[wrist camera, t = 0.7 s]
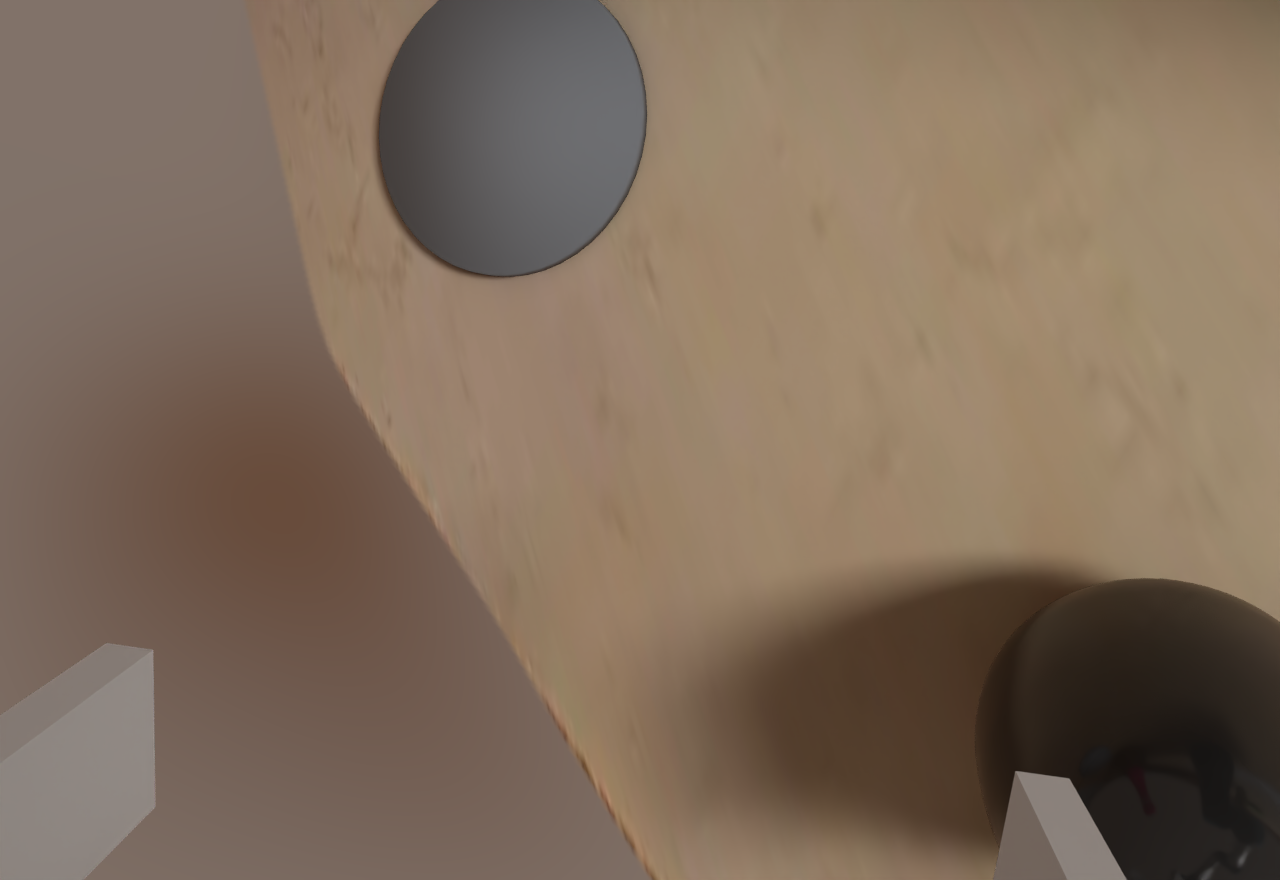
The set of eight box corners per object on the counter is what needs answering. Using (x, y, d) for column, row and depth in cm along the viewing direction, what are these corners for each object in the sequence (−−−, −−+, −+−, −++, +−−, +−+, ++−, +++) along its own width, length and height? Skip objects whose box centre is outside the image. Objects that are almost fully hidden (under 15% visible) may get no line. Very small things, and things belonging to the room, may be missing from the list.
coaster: (627, -63, 39) (621, -70, 38) (664, 249, 39) (658, 247, 39) (371, 18, 44) (362, 13, 43) (405, 297, 44) (397, 296, 43)
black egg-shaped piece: (954, 803, 36) (888, 1075, 22) (1021, 523, 35) (995, 626, 21) (1277, 913, 33) (1439, 1320, 19) (1367, 605, 31) (1617, 797, 17)
